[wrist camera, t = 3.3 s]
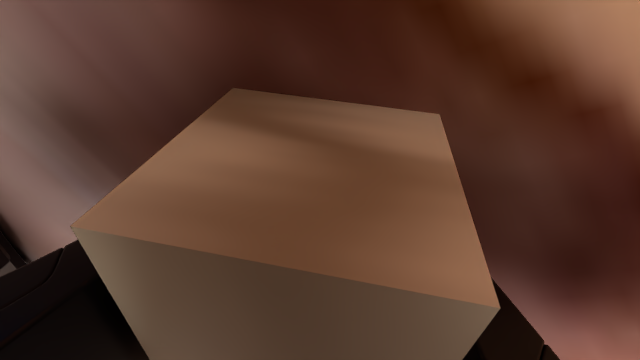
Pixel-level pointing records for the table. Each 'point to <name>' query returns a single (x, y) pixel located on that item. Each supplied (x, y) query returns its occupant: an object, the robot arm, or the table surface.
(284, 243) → the beech block
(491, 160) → the table surface
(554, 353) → the robot arm
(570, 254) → the table surface
